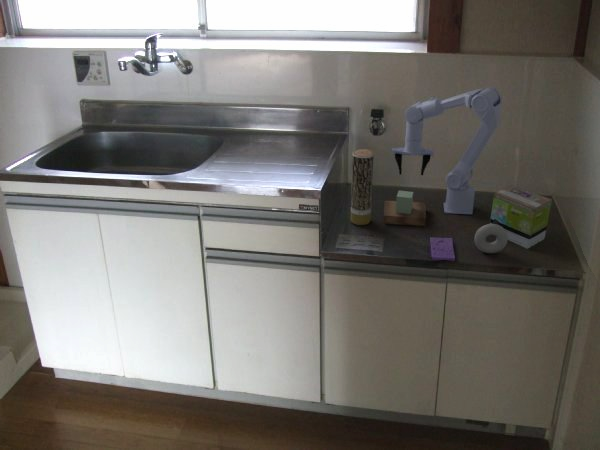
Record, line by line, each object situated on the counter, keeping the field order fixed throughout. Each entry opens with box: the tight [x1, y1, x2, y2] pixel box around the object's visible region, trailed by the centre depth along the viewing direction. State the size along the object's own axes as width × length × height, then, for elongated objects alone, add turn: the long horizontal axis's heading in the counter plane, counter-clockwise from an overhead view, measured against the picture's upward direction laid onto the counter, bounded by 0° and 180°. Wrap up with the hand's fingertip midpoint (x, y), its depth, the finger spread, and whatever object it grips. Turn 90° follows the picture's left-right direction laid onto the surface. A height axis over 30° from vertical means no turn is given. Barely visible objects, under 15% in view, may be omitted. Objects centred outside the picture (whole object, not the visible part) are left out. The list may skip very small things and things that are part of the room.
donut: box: [474, 223, 509, 254], centre depth 197 cm, size 10×3×10 cm, turn 82°
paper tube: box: [350, 148, 374, 226], centre depth 213 cm, size 7×7×25 cm
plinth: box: [382, 200, 427, 227], centre depth 221 cm, size 14×12×3 cm
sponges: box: [429, 236, 456, 261], centre depth 200 cm, size 7×13×2 cm, turn 172°
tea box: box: [489, 184, 553, 250], centre depth 205 cm, size 15×10×15 cm
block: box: [395, 190, 414, 214], centre depth 218 cm, size 5×5×6 cm
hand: (411, 173), depth 231 cm, fingers open, 7 cm apart
